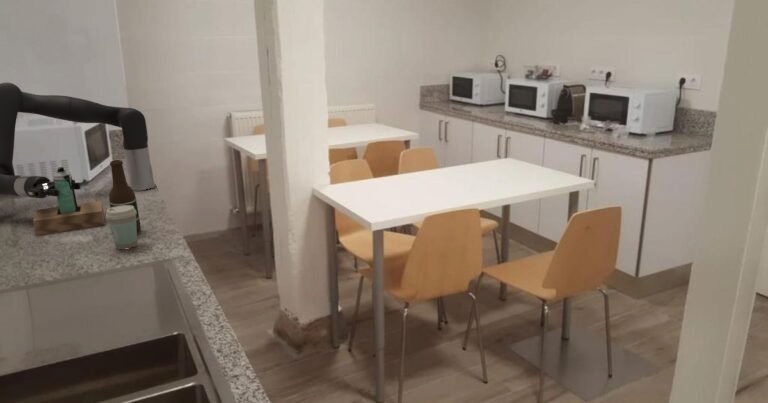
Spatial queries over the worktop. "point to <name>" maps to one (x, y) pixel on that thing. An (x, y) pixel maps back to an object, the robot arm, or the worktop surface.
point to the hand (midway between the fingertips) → (69, 189)
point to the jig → (68, 218)
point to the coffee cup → (123, 225)
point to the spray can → (65, 191)
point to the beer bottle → (122, 190)
